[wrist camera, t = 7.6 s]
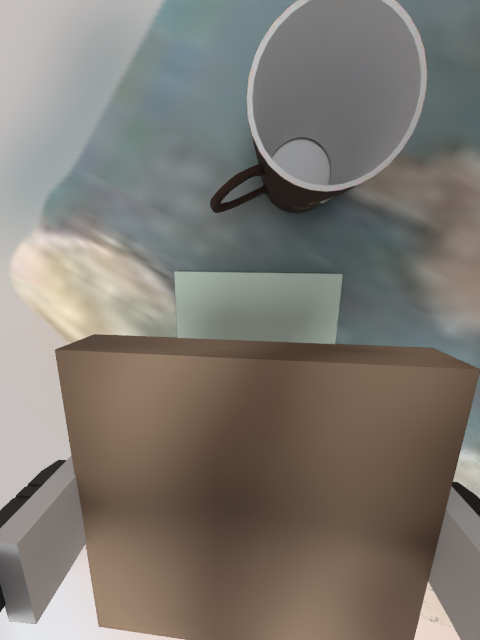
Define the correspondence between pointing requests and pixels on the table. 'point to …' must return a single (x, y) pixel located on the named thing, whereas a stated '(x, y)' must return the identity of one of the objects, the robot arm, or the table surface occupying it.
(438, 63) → the table surface
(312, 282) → the sage mat
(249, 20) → the table surface
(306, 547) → the walnut lid
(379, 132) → the coffee mug
